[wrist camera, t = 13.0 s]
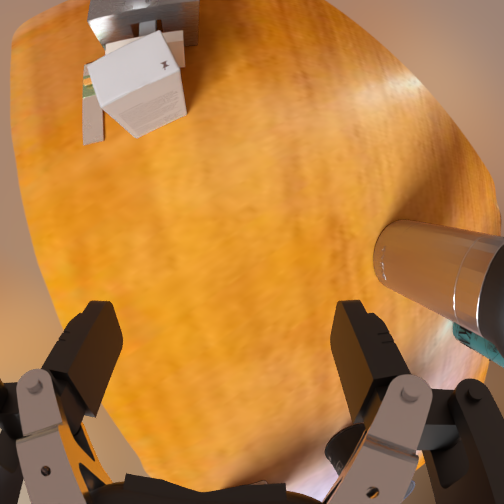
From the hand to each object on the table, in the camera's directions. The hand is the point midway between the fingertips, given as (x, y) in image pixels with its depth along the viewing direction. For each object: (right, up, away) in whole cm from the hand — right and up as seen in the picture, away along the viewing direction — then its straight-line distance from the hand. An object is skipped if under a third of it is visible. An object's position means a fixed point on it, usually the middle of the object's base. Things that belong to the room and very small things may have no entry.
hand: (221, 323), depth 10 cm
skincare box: (-9, +17, +18) cm, 26 cm away
